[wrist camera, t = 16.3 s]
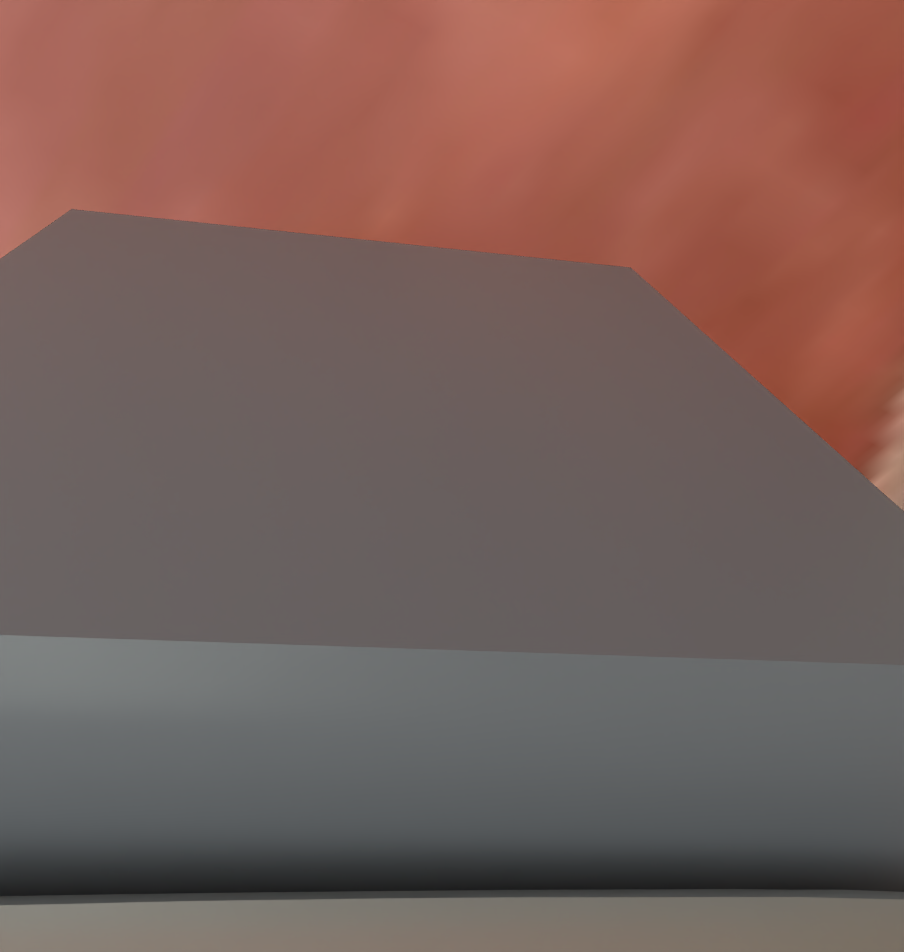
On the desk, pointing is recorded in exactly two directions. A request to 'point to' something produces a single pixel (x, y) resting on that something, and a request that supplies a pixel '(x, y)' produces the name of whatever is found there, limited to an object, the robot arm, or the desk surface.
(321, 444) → the matte gray cube
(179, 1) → the desk surface
